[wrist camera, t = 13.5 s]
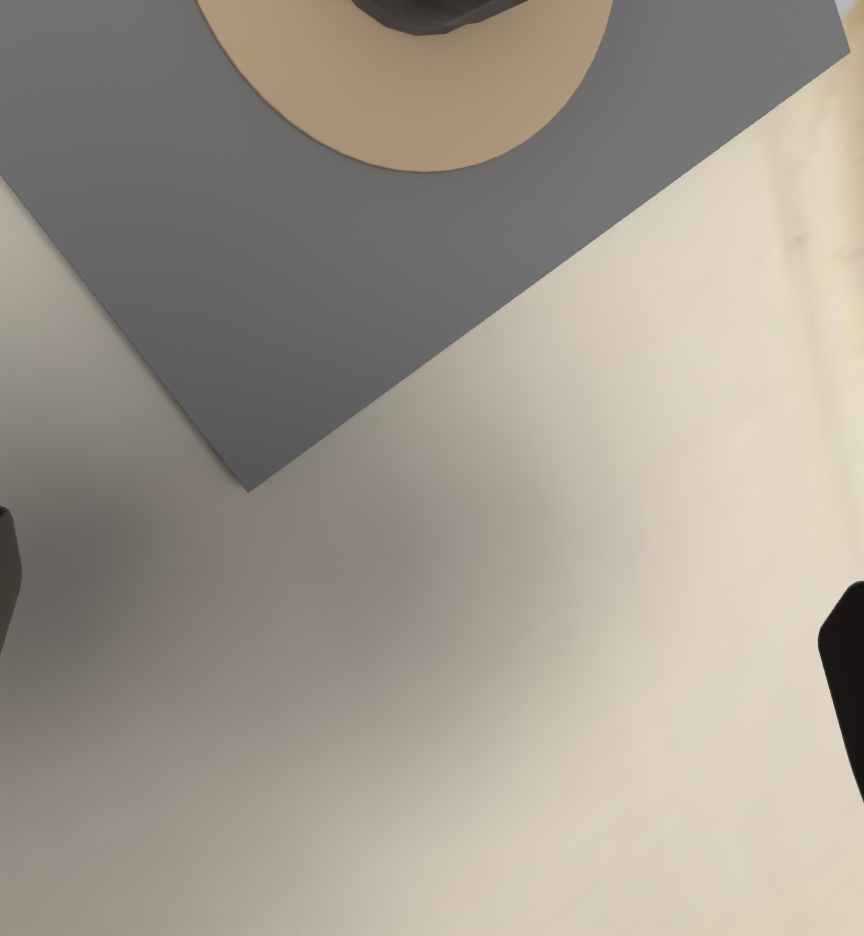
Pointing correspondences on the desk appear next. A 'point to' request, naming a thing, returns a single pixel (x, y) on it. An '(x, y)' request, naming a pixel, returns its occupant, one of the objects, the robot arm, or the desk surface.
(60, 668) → the desk surface
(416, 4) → the beverage cup
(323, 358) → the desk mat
